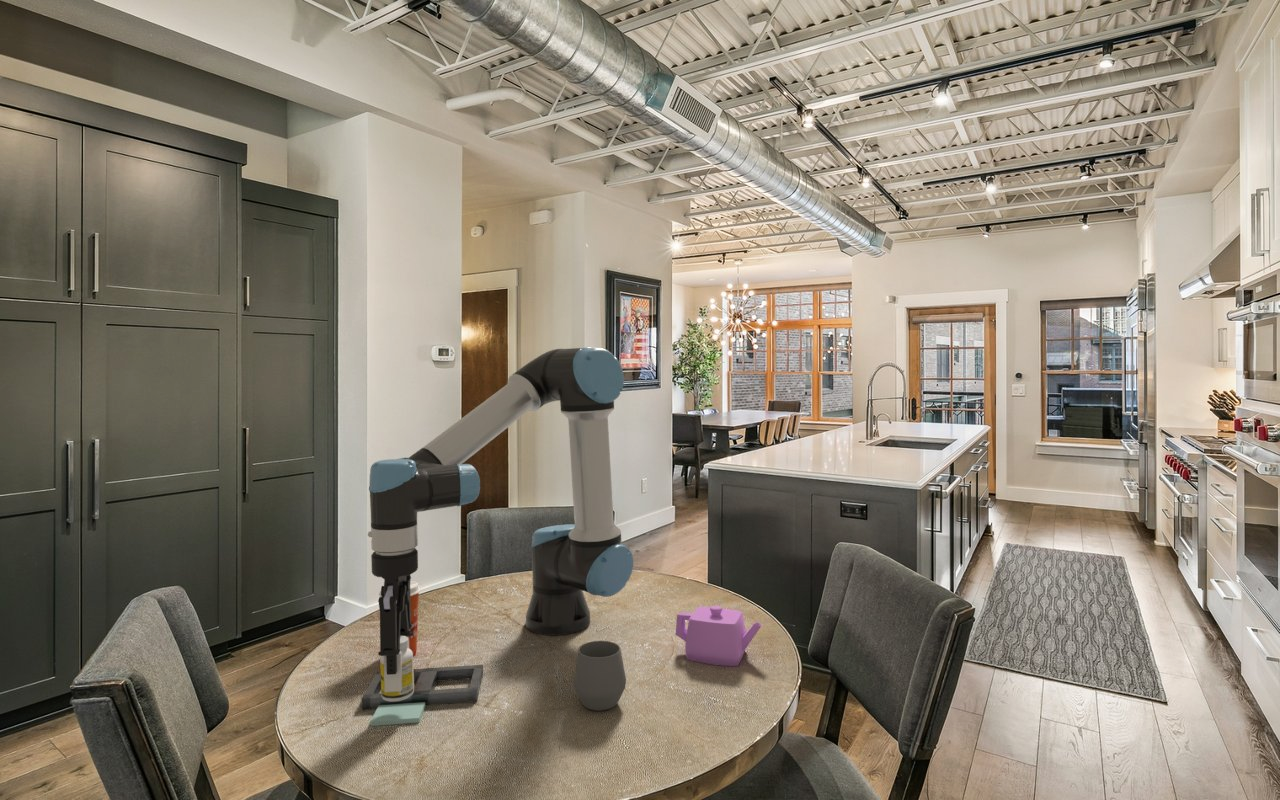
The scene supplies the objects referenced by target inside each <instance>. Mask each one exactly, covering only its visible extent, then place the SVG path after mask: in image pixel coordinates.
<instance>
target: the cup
mask: <svg viewBox="0 0 1280 800" xmlns="http://www.w3.org/2000/svg"><path fill="white" fill-rule="evenodd" d="M574 670H575V671H574V676H573V680H572V681H573V689H574V690H575V693H576V695H577V697H578V698H579V700H580V702H581V705H582V706H583V707H584V708H586V709H587V710H591V711H596V712H597V711H598V712H600V711H606V710H610V709H612V708H614V707H615V706H616V705H618V704H619V701H620V699H621V697H622V695H623V693H624V691H625V689H626V682H627V677H626V672H625V667H624V660H623V655H622V650H621V646H620V645H619V644H618V643H616V642H612V641H609V640H594V641H589V642H586V643H583V644H581V646H579V647H578V649H577V657H576V663H575V669H574Z"/></svg>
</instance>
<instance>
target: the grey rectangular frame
mask: <svg viewBox="0 0 1280 800" xmlns="http://www.w3.org/2000/svg"><path fill="white" fill-rule="evenodd" d="M483 676H484V665H483V664H473V665H472V664H471V665H459V666H457V665H455V666H444V667H443V666H442V667H441V666H440V667H426V668H424V667H423V668H414V682H415V684H414V693H413V694H412V695H411V696H410V697H409V698H407V699H404V700H401V701H395V702H390V701H385V700H384V699H383V698H382V696H381V671H380V670H378V671H376V673H375V675H374V677H373V678H372V680H371V681H370V682H369V685H368V687H367V688H366V690H365V692H364V693H363V695H362V697H361V710H362V711H363V710H375V709H376V710H377V708H378V706H379V705H393V704H407V703H421V702H425V706H432V705H433V706H434V705H436V706H437V705H449V704H460V703H461V704H463V703H476V702H478V699H479V695H480V691H481V686H482V681H483ZM443 680H445V681H457V680H470V684H469V687H457V688H456V687H455V688H445V689H444V688H442V689H436V686H437V684H438V682H442V681H443Z"/></svg>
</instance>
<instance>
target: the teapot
mask: <svg viewBox="0 0 1280 800" xmlns="http://www.w3.org/2000/svg"><path fill="white" fill-rule="evenodd" d="M743 613H744V612H743V611H742V610H738V609H729V608H723V607H722V606H720V605H712V606H698V607H697V608H696V609H695V610H694V611H693V612H684V611H682V612H681V611H679V612H678V614H677V615H676V624H675V625H676V626H675V636H677V637H679V638H680V639H681V640H683V641H684V642H685V649H684V652H685V655H686V656H685V657H686V659H687V660H688V661H690V662H694V663H695V662H696V663H701V664H707V665H713V666H721V667H722V666H724V667H738V666H739V664H740V663H741V661H742V659H743V656H744V655H745V651H746V649H747V647H748V646H750V645H749V644H750V643H751V642H752V641H753V639H754V637H755V636H756V634H757V633H758V631H760V628H761V627H762V623H761V622H760V623H759V622H758V621H754V622H753V624H752V625H751V626H750V627H749V628H748V629H747V630H746V624H745V618H744V614H743ZM686 621H688V623H687V627H686Z"/></svg>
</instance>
